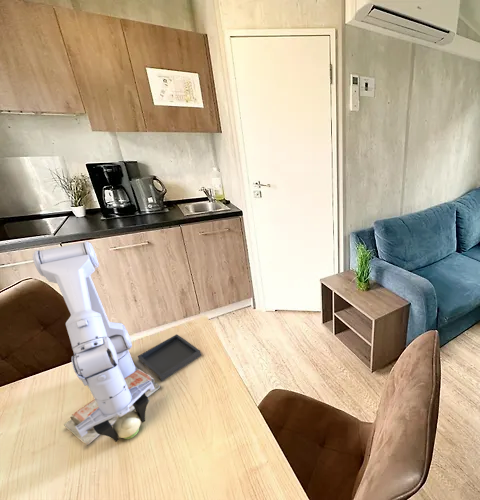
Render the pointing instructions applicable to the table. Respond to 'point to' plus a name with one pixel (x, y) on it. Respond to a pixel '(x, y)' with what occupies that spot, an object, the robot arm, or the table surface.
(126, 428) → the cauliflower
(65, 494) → the table surface
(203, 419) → the table surface
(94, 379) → the robot arm
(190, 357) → the tray
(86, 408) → the packaged product
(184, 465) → the table surface
